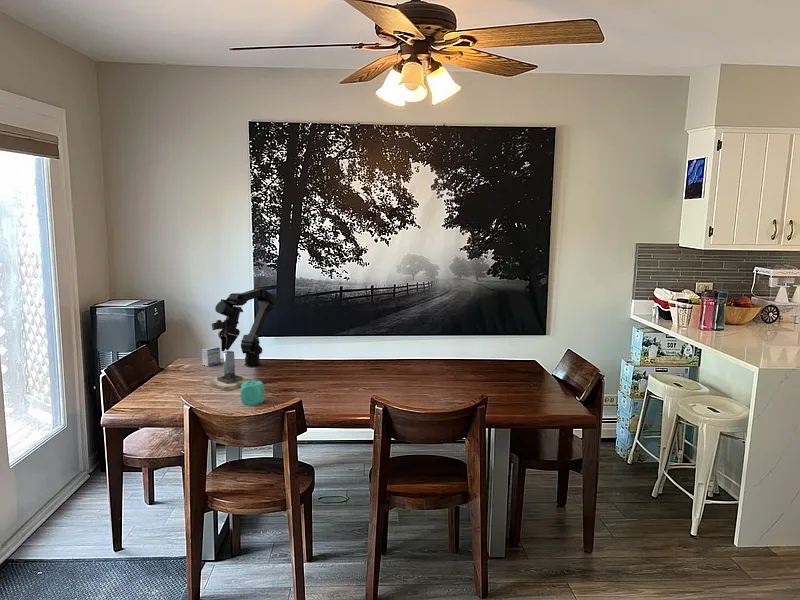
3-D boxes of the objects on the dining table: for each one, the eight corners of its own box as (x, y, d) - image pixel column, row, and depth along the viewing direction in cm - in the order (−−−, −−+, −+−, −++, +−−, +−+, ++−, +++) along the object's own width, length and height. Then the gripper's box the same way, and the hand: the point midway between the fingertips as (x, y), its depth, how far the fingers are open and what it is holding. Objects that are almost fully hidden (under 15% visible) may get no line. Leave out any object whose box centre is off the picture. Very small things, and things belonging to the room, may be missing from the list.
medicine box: (207, 366, 300) (206, 350, 299) (202, 365, 303) (201, 348, 302) (221, 363, 307) (220, 347, 305) (215, 362, 309) (214, 346, 308)
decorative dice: (264, 398, 248) (263, 380, 247) (261, 405, 240) (260, 385, 239) (245, 399, 248) (244, 380, 246) (241, 405, 240) (240, 386, 238)
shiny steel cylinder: (227, 378, 273) (225, 351, 271) (237, 379, 272) (235, 351, 270) (222, 381, 268) (221, 353, 266) (232, 382, 267) (231, 353, 265)
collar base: (234, 376, 281) (234, 370, 281) (255, 382, 271) (255, 376, 271) (204, 384, 269) (204, 378, 269) (225, 390, 259) (225, 384, 259)
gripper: (211, 317, 291) (203, 348, 287) (219, 312, 275) (211, 345, 271) (234, 322, 296) (226, 353, 292) (243, 318, 279) (235, 350, 276)
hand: (224, 350), depth 282 cm, fingers open, 9 cm apart
